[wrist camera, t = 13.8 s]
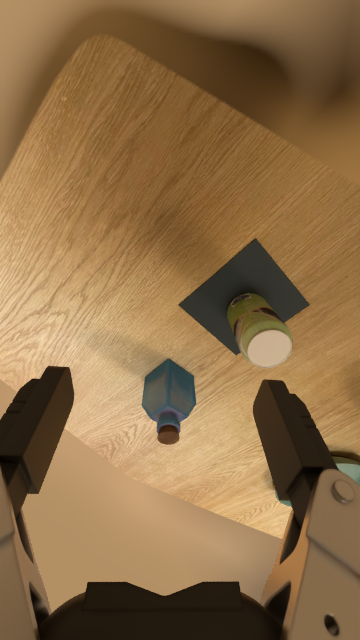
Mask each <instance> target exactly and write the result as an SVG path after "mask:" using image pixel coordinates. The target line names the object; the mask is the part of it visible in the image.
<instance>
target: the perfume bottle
mask: <svg viewBox="0 0 360 640" xmlns="http://www.w3.org/2000/svg"><path fill="white" fill-rule="evenodd" d="M195 405H196V397H195V386H194V376H193V375H191V374H190V373H189V372H187V371H186V370H184V369H183V368H181V367H180V366H179V365H177V364H176V363H174V362H173V361H172V360H170V359H169V358H168V359H167V360H166V361H165V362H163V363H162V364H161V365H160V366H158V367H157V368H156V369H155V370H153V371H152V372H151V373H150V374H148V375H147V376H146V377H145V383H144V391H143V399H142V407H143V408H144V410H145V411H146V413H147V414H148V416H149V417H150V419H152V420H154V421H156V422H157V433H158V437H157V438H158V441H159V442H160V443H163V444H167V445H168V444H174V443H176V442H178V441H179V433H180V422H181V421H183V420H184V419H186V418H187V417H188V416H189V414H190V413H191V411H192V410H193V408H194V406H195Z"/></svg>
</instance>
